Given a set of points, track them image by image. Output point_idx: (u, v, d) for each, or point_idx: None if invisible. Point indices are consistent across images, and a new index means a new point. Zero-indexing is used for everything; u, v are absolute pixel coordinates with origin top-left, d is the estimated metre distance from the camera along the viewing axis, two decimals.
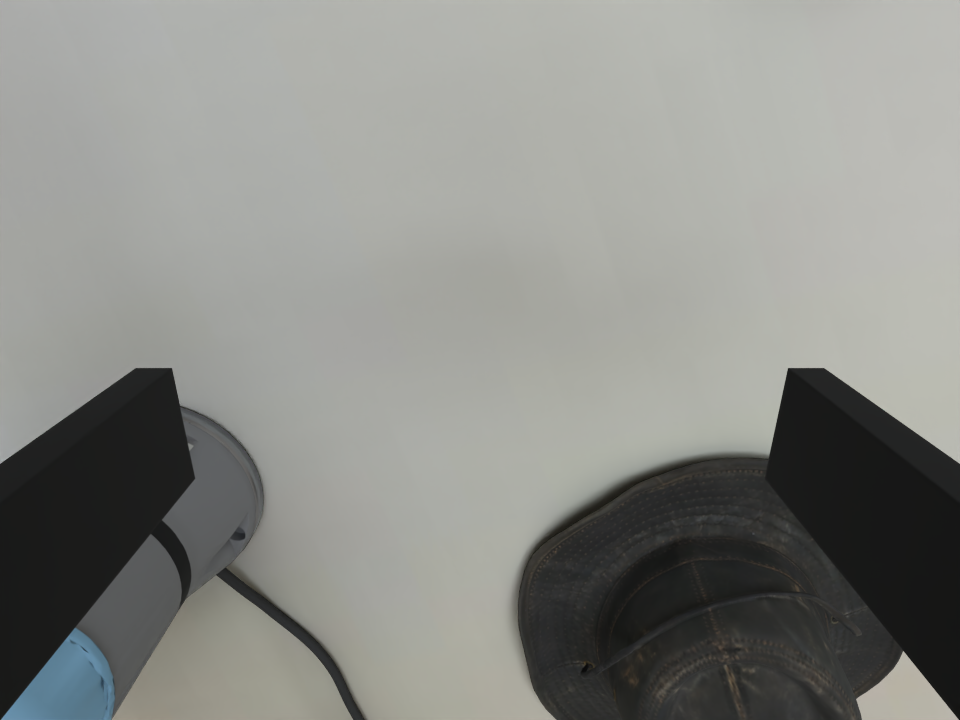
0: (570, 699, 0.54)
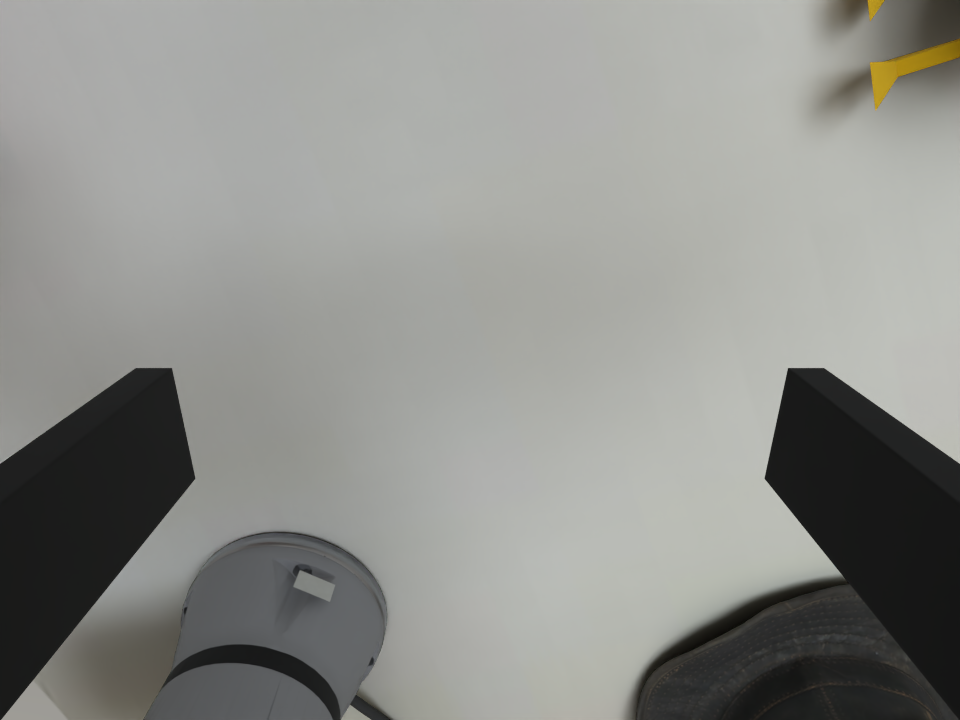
0: None
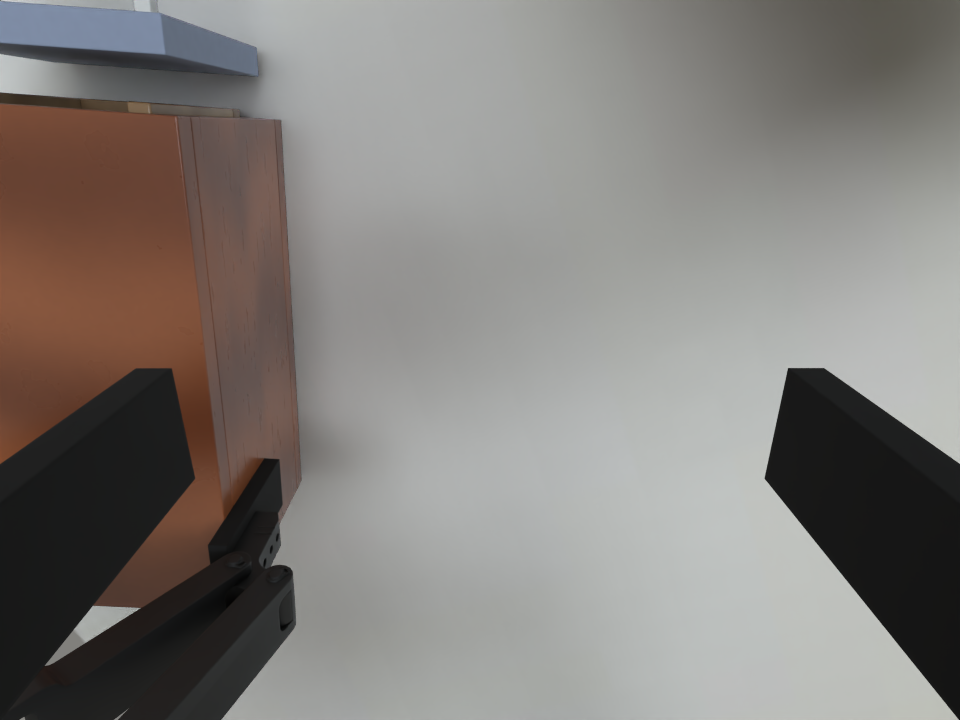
0: None
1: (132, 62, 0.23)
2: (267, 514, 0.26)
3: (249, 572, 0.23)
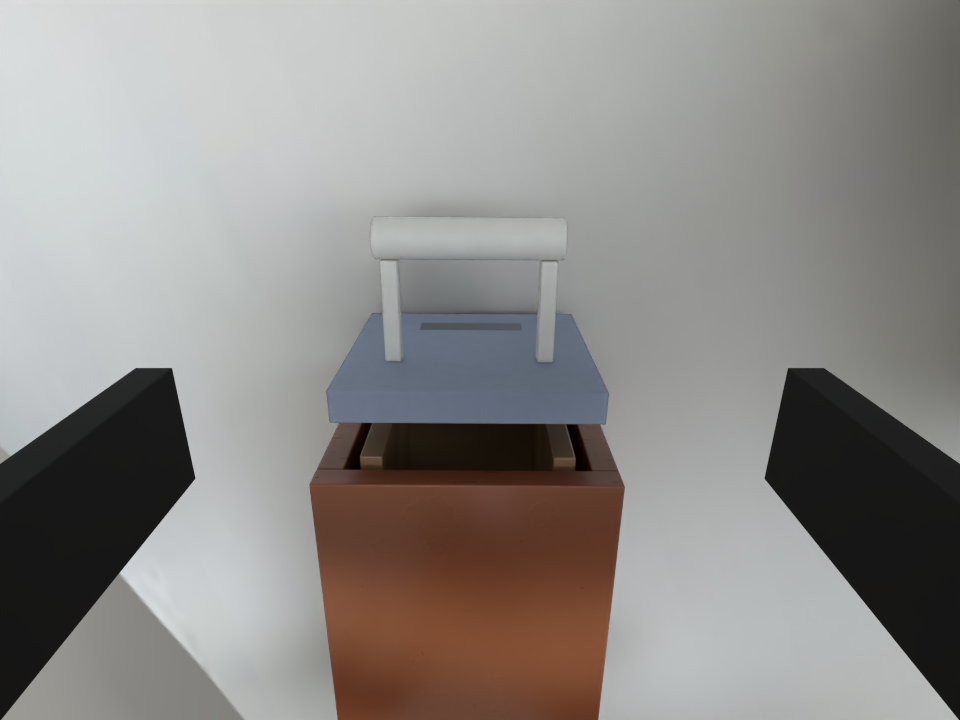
0: None
1: None
2: None
3: None
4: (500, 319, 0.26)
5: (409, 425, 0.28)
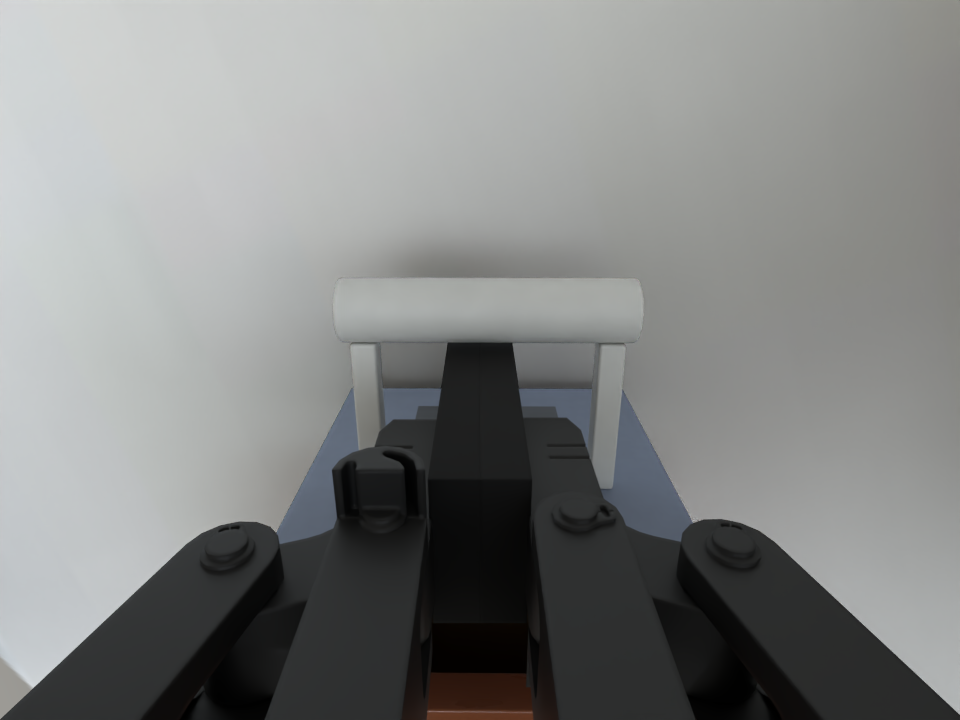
0: None
1: None
2: None
3: None
4: (526, 398, 0.19)
5: None
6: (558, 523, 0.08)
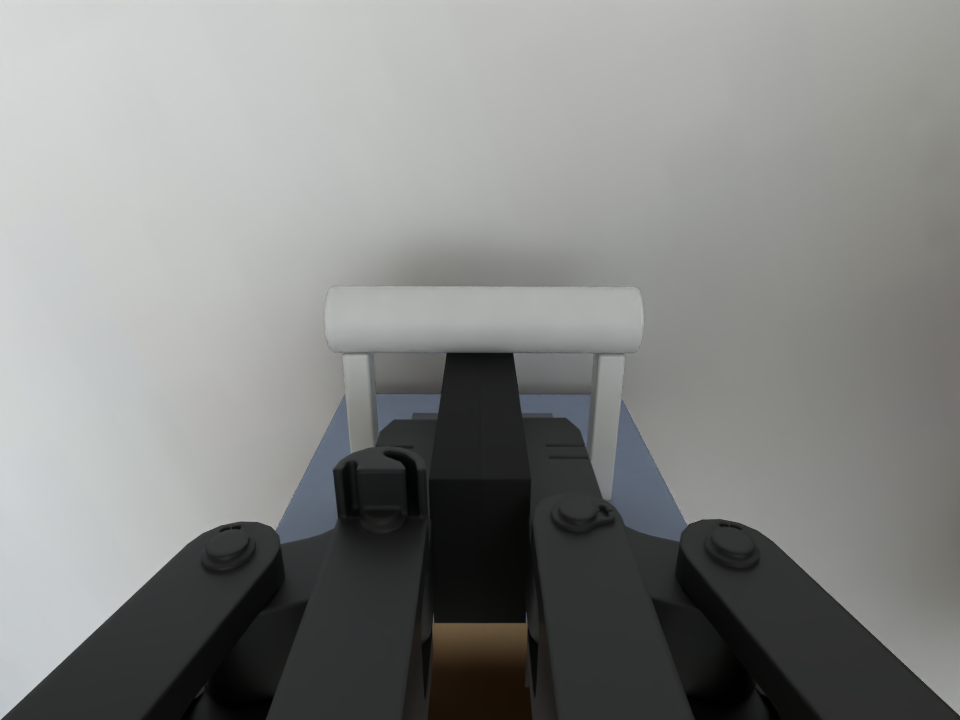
0: None
1: None
2: None
3: None
4: (523, 404, 0.19)
5: None
6: (556, 523, 0.08)
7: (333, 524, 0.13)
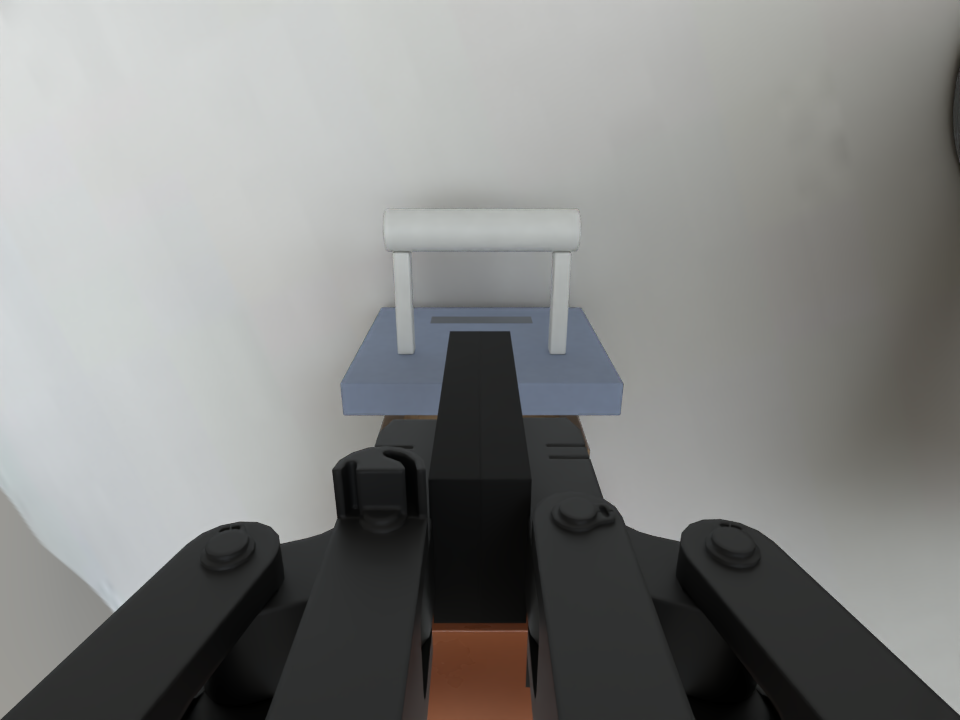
0: None
1: None
2: None
3: None
4: (510, 312, 0.26)
5: None
6: (558, 523, 0.08)
7: (386, 364, 0.21)
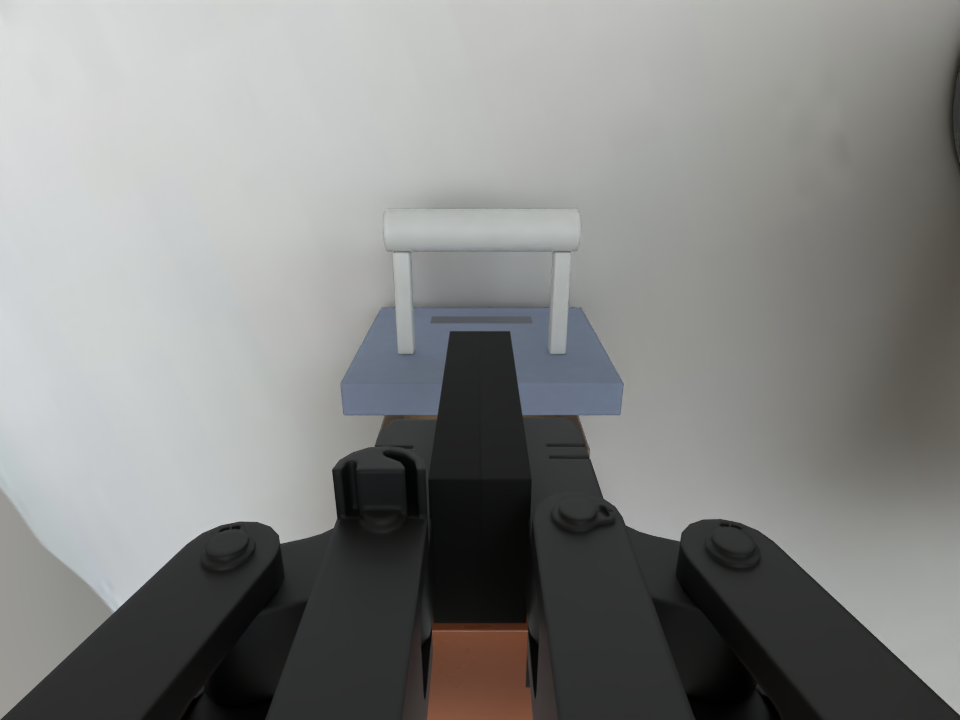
0: None
1: None
2: None
3: None
4: (510, 312, 0.26)
5: None
6: (558, 523, 0.08)
7: (386, 364, 0.21)
